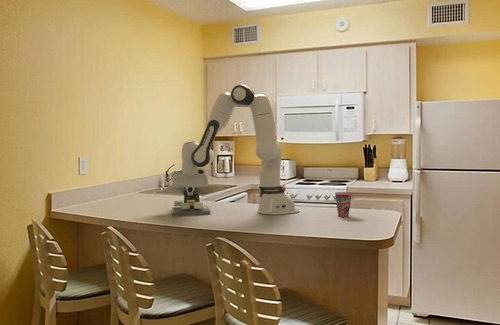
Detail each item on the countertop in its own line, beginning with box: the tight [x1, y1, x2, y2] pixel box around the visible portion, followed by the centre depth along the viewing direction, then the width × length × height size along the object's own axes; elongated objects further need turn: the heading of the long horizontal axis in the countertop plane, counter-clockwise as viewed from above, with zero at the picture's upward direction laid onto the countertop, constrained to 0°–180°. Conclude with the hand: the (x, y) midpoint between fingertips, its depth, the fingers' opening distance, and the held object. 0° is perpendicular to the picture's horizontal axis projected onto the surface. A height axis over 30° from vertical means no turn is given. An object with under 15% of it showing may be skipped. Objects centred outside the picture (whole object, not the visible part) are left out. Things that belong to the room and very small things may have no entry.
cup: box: [334, 191, 355, 218], centre depth 223 cm, size 9×8×12 cm
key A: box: [194, 201, 204, 208], centre depth 240 cm, size 4×4×2 cm
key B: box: [180, 202, 190, 209], centre depth 239 cm, size 4×4×2 cm
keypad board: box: [171, 205, 211, 217], centre depth 244 cm, size 20×18×2 cm
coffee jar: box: [183, 187, 201, 207], centre depth 259 cm, size 10×8×19 cm
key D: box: [173, 200, 184, 207], centre depth 247 cm, size 4×4×2 cm
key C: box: [187, 200, 195, 206], centre depth 248 cm, size 4×4×2 cm
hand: (190, 195), depth 248 cm, fingers closed
